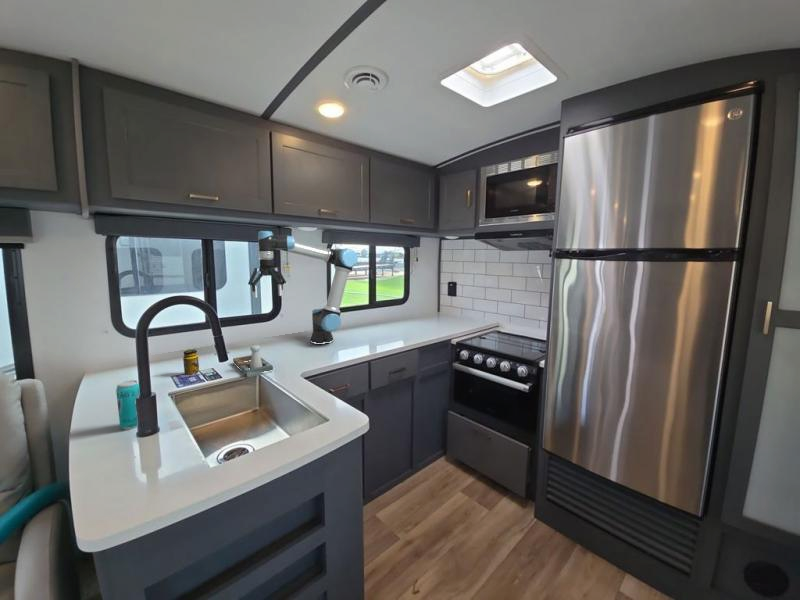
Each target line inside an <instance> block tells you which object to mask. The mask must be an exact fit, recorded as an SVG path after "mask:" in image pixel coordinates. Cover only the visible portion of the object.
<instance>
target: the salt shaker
mask: <svg viewBox="0 0 800 600" xmlns="http://www.w3.org/2000/svg"><path fill="white" fill-rule="evenodd" d="M260 350H261V347H260V345H258V344H254V345H251V346H250V351H251V355H252V356H251V363H250V369H253V368H257V367H262V362H261V358H262V357H261V354H260ZM260 357H261V358H260Z"/></svg>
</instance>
